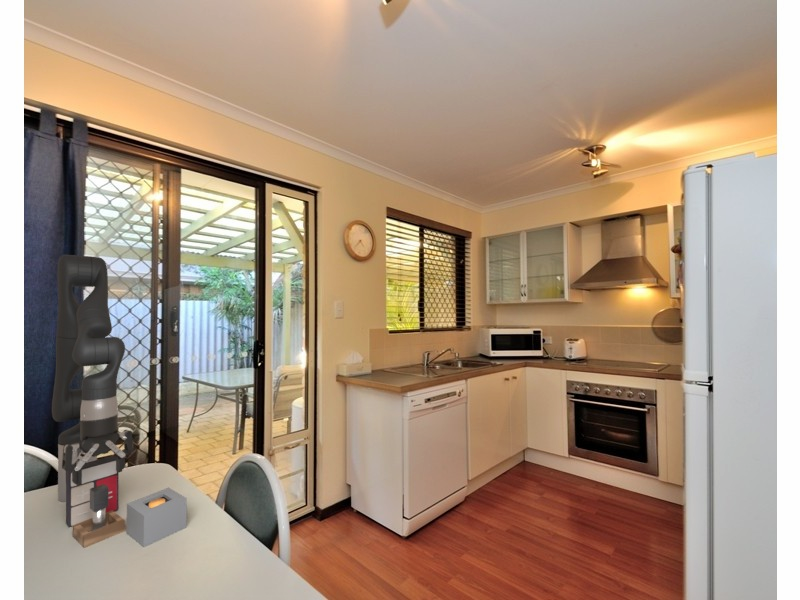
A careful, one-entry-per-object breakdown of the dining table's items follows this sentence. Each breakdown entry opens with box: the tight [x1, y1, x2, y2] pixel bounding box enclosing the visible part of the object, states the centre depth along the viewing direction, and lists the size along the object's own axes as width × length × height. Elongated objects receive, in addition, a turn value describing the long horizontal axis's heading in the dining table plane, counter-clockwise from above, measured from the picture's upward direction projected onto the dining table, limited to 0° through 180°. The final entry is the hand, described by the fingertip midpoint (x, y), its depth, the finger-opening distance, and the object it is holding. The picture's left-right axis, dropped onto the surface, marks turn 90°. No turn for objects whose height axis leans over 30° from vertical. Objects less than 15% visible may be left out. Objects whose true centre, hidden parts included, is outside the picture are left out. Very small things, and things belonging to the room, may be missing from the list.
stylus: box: [90, 484, 109, 532], centre depth 96 cm, size 3×3×12 cm
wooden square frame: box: [72, 510, 126, 549], centre depth 96 cm, size 8×8×3 cm
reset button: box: [149, 498, 165, 508], centre depth 97 cm, size 4×4×5 cm
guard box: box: [126, 487, 188, 548], centre depth 97 cm, size 10×10×8 cm
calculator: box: [65, 455, 120, 528], centre depth 104 cm, size 11×4×15 cm, turn 142°
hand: (99, 477), depth 96 cm, fingers open, 8 cm apart
